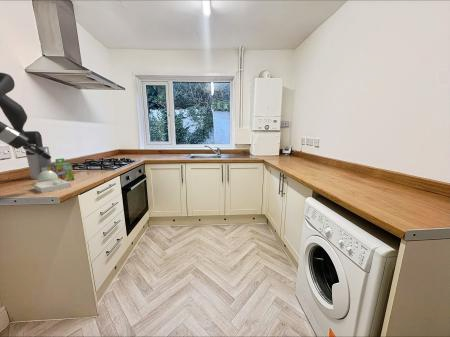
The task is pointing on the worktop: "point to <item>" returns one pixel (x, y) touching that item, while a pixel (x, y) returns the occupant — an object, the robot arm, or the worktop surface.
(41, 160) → the grey domed cylinder
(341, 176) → the worktop surface
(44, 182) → the white divided tray
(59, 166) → the chalk box
